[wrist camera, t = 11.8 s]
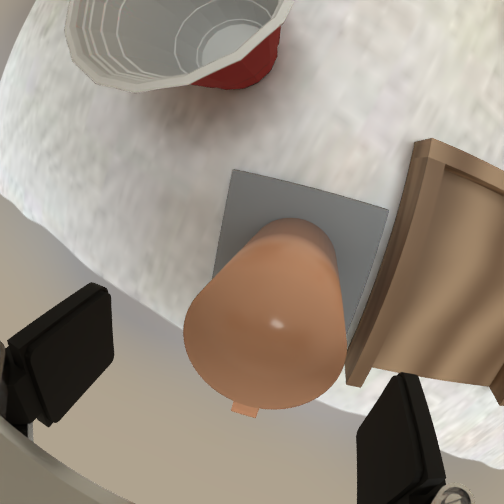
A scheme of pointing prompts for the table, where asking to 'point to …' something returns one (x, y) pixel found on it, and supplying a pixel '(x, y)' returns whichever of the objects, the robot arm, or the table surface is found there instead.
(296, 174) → the table surface
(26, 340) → the robot arm
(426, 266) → the brown tray
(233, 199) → the coaster
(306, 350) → the tan tapered cylinder
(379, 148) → the table surface
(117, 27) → the plastic cup
